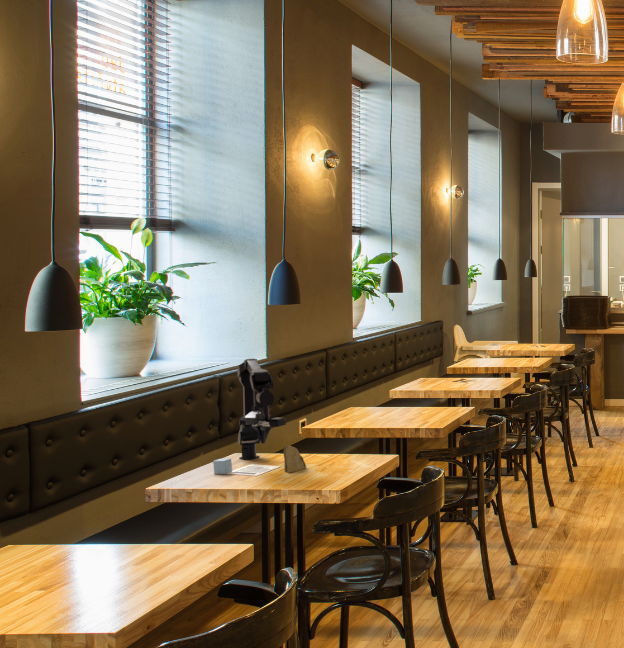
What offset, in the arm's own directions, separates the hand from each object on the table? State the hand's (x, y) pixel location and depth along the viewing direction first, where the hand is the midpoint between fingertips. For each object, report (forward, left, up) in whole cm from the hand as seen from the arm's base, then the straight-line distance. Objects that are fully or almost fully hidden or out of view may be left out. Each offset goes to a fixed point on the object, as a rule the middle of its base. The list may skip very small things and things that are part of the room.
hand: (263, 443), depth 314 cm
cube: (+8, -14, -11) cm, 19 cm away
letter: (0, -5, -11) cm, 12 cm away
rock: (-6, +11, -11) cm, 17 cm away
